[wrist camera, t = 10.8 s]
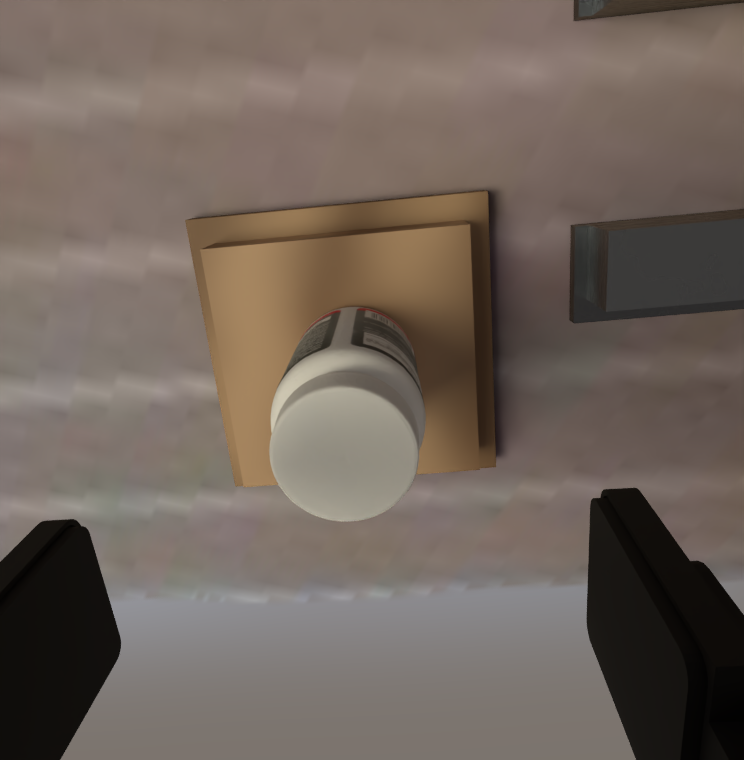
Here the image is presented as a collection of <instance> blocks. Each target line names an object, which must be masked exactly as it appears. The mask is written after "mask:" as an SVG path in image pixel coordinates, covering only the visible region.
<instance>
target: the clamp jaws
mask: <svg viewBox="0 0 744 760" xmlns="http://www.w3.org/2000/svg"><path fill="white" fill-rule="evenodd" d="M741 2H744V0H574V21H576V20H585V19H594V18H604V17H613V16H622V15H631V14H640V13H649V12H658V11H668V10H677V9H686V8H695V7H704V6H713V5H722V4H732V3H741ZM736 309H744V209H740V210H729V211H718V212H707V213H697V214H686V215H675V216H664V217H654V218H643V219H632V220H621V221H611V222H600V223H589V224H578V225H571V248H570V321H571V322H573V323H583V322H595V321H607V320H618V319H630V318H642V317H653V316H665V315H677V314H689V313H700V312H712V311H724V310H736Z"/></svg>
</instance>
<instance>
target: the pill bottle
mask: <svg viewBox="0 0 744 760" xmlns="http://www.w3.org/2000/svg"><path fill="white" fill-rule="evenodd" d="M425 425H426V413H425V405H424V400H423V396H422V390H421V385H420V380H419V375H418V370H417V364H416V358H415V353H414V350H413V347H412V345H411V342H410V340H409V338H408V337H407V335H406V333H405V332H404V331H403V329H402V328H401V327H400V326H399V325H398V324H397V323H396V322H395V321H394V320H392V319H391V318H390V317H388V316H387V315H385V314H383V313H381V312H379V311H376V310H373V309H369V308H363V307H345V308H340V309H336V310H333V311H331V312H329V313H326V314H325V315H323V316H321V317H320V318H318V319H317V320H316V321H314V322H313V323H312V324H311V325H310V326H309V327H308V329H307V330H306V331H305V333H304V334H303V336H302V337H301V339H300V341H299V343H298V345H297V347H296V350H295V352H294V354H293V356H292V358H291V360H290V362H289V364H288V366H287V368H286V370H285V373H284V375H283V377H282V379H281V381H280V383H279V385H278V387H277V390H276V393H275V396H274V399H273V403H272V408H271V432H272V435H271V440H270V446H269V456H270V464H271V468H272V471H273V474H274V477H275V479H276V481H277V483H278V485H279V486H280V488H281V489H282V490H283V492H284V493H285V494H286V495H287V496H288V498H289V499H290V500H291V501H292V502H293V503H295V504H296V505H297V506H299V507H300V508H302V509H304V510H305V511H306V512H308V513H310V514H313V515H315V516H318V517H321V518H324V519H327V520H333V521H343V522H349V521H360V520H364V519H368V518H371V517H374V516H377V515H379V514H381V513H383V512H385V511H386V510H388V509H390V508H391V507H392V506H393V505H395V504H396V503H397V502H399V501H400V500H401V498H402V497H403V496H404V495H405V494H406V492H407V491H408V490H409V488H410V486H411V485H412V483H413V481H414V478H415V475H416V473H417V469H418V463H419V450H420V447H421V445H422V441H423V438H424V433H425Z"/></svg>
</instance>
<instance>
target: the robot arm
mask: <svg viewBox="0 0 744 760" xmlns="http://www.w3.org/2000/svg"><path fill="white" fill-rule="evenodd" d="M587 595H588V596H587V629H588V634H589V638H590V642H591V644H592V647H593V650H594V652H595V655H596V657H597V660H598V662H599V665H600V667H601V670H602V672H603V675H604V678H605V680H606V683H607V685H608V688H609V691H610V693H611V696H612V698H613V701H614V703H615V706H616V709H617V711H618V714H619V716H620V719H621V722H622V724H623V727H624V729H625V732H626V735H627V737H628V739H629V742H630V745H631V747H632V750H633V753H634V755H635V758H636V760H744V615H743V613H742V612H741V611H740V609H739V608H738V607H737V605H736V604H735V603H734V602H733V600H732V599H731V597H730V596H729V595H728V594H727V592H726V591H725V589H724V588H723V587H722V585H721V584H720V583H719V581H718V580H717V579H716V577H715V576H714V575H713V573H712V572H711V571H710V569H709V568H708V567H707V566H706V565H705V564H704V563H702V562H699V561H690V560H689V559H688V557H687V556H686V555H685V553H684V552H683V550H682V549H681V548H680V546H679V545H678V544H677V542H676V541H675V539H674V538H673V537H672V535H671V534H670V532H669V531H668V530H667V528H666V527H665V525H664V524H663V523H662V521H661V520H660V518H659V517H658V516H657V514H656V513H655V511H654V510H653V509H652V507H651V506H650V504H649V503H648V502H647V500H646V499H645V497H644V496H643V495H642V493H641V492H640V491H639V490H638V489H637V488H623V489H605V490H603V491H602V493H601V498H593V499H592V500H591V506H590V534H589V564H588V594H587ZM120 649H121V639H120V635H119V632H118V628H117V625H116V621H115V618H114V614H113V611H112V608H111V604H110V601H109V597H108V594H107V591H106V587H105V584H104V581H103V577H102V574H101V570H100V567H99V564H98V560H97V557H96V553H95V550H94V547H93V543H92V540H91V537H90V533H89V531H88V529H87V528H86V527H83V526H81V525H80V524H79V523H78V521H76V520H74V519H69V520H51V521H42V522H41V523H39V524H38V525H37V526H36V527H35V528H34V529H33V530H32V531H31V532H30V533H29V534H28V535H27V536H26V537H25V538H24V539H23V540H22V541H21V542H20V543H19V544H18V545H17V546H16V547H15V548H14V549H13V550H12V551H11V552H10V553H9V554H8V555H7V556H6V557H5V558H4V559H3V560H2V561H1V562H0V760H60V759H61V757H62V756H63V754H64V752H65V750H66V749H67V747H68V745H69V743H70V742H71V740H72V738H73V736H74V735H75V733H76V731H77V729H78V728H79V726H80V724H81V722H82V721H83V719H84V717H85V715H86V714H87V712H88V710H89V708H90V707H91V705H92V703H93V701H94V699H95V698H96V696H97V694H98V693H99V691H100V689H101V687H102V686H103V684H104V682H105V680H106V679H107V677H108V675H109V673H110V672H111V670H112V668H113V666H114V665H115V663H116V661H117V659H118V657H119V654H120Z"/></svg>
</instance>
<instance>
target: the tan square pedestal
mask: <svg viewBox="0 0 744 760" xmlns="http://www.w3.org/2000/svg"><path fill="white" fill-rule="evenodd" d="M185 222H186V227H187V232H188V237H189V243H190V248H191V253H192V259H193V264H194V269H195V274H196V280H197V285H198V290H199V296H200V301H201V306H202V312H203V317H204V322H205V327H206V333H207V338H208V343H209V349H210V354H211V359H212V365H213V370H214V375H215V380H216V386H217V391H218V396H219V402H220V407H221V412H222V417H223V423H224V428H225V433H226V439H227V444H228V449H229V455H230V460H231V465H232V470H233V476H234V481H235V486H244V487H253V486H266V485H278V483H277V481H276V479H275V477H274V474H273V471H272V468H271V464H270V456H269V446H270V440H271V435H272V432H271V408H272V403H273V399H274V396H275V393H276V390H277V387H278V385H279V383H280V381H281V379H282V377H283V375H284V373H285V370H286V368H287V366H288V364H289V362H290V360H291V358H292V356H293V354H294V352H295V350H296V347H297V345H298V343H299V341H300V339H301V337H302V336H303V334H304V333H305V331H306V330H307V329H308V327H309V326H310V325H311V324H312V323H313V322H314V321H316V320H317V319H318V318H320V317H321V316H323V315H325V314H326V313H329V312H331V311H333V310H336V309H340V308H345V307H363V308H369V309H373V310H376V311H379V312H381V313H383V314H385V315H387V316H388V317H390V318H391V319H392V320H394V321H395V322H396V323H397V324H398V325H399V326H400V327H401V328H402V329H403V331H404V332H405V333H406V335H407V337H408V338H409V340H410V342H411V345H412V347H413V350H414V353H415V358H416V364H417V370H418V375H419V380H420V385H421V390H422V396H423V400H424V405H425V413H426V425H425V433H424V438H423V441H422V445H421V447H420V450H419V463H418V469H417V473H416V474H428V473H441V472H455V471H468V470H480V468H489V467H496V451H495V417H494V383H493V348H492V314H491V280H490V246H489V211H488V191H485V190H482V191H471V192H461V193H451V194H440V195H430V196H420V197H409V198H399V199H388V200H378V201H368V202H357V203H347V204H337V205H326V206H316V207H306V208H295V209H285V210H274V211H264V212H254V213H243V214H233V215H223V216H212V217H202V218H192V219H188V220H185Z"/></svg>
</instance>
